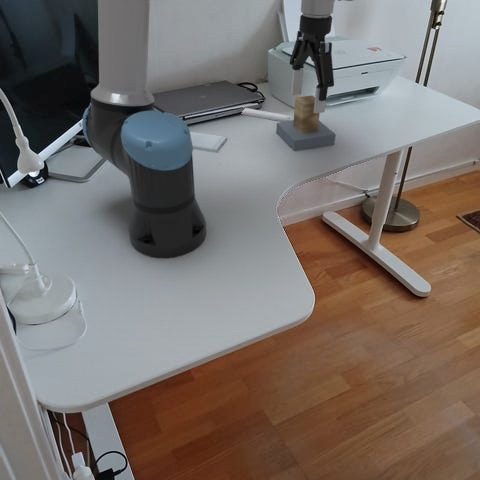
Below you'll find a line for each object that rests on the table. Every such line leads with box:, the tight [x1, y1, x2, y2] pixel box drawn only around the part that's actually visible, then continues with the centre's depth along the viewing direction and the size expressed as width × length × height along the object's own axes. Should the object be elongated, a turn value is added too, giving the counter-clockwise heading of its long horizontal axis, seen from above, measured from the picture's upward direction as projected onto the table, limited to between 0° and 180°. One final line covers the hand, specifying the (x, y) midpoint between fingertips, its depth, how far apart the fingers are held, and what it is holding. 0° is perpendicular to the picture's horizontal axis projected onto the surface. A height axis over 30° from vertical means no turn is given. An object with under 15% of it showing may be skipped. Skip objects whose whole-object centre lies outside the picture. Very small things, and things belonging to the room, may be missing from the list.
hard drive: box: [190, 131, 228, 153], centre depth 123 cm, size 2×8×12 cm
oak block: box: [293, 95, 321, 133], centre depth 121 cm, size 5×5×8 cm
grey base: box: [275, 119, 336, 152], centre depth 124 cm, size 12×12×3 cm
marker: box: [240, 107, 294, 122], centre depth 136 cm, size 18×2×2 cm, turn 65°
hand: (307, 103), depth 119 cm, fingers open, 13 cm apart
